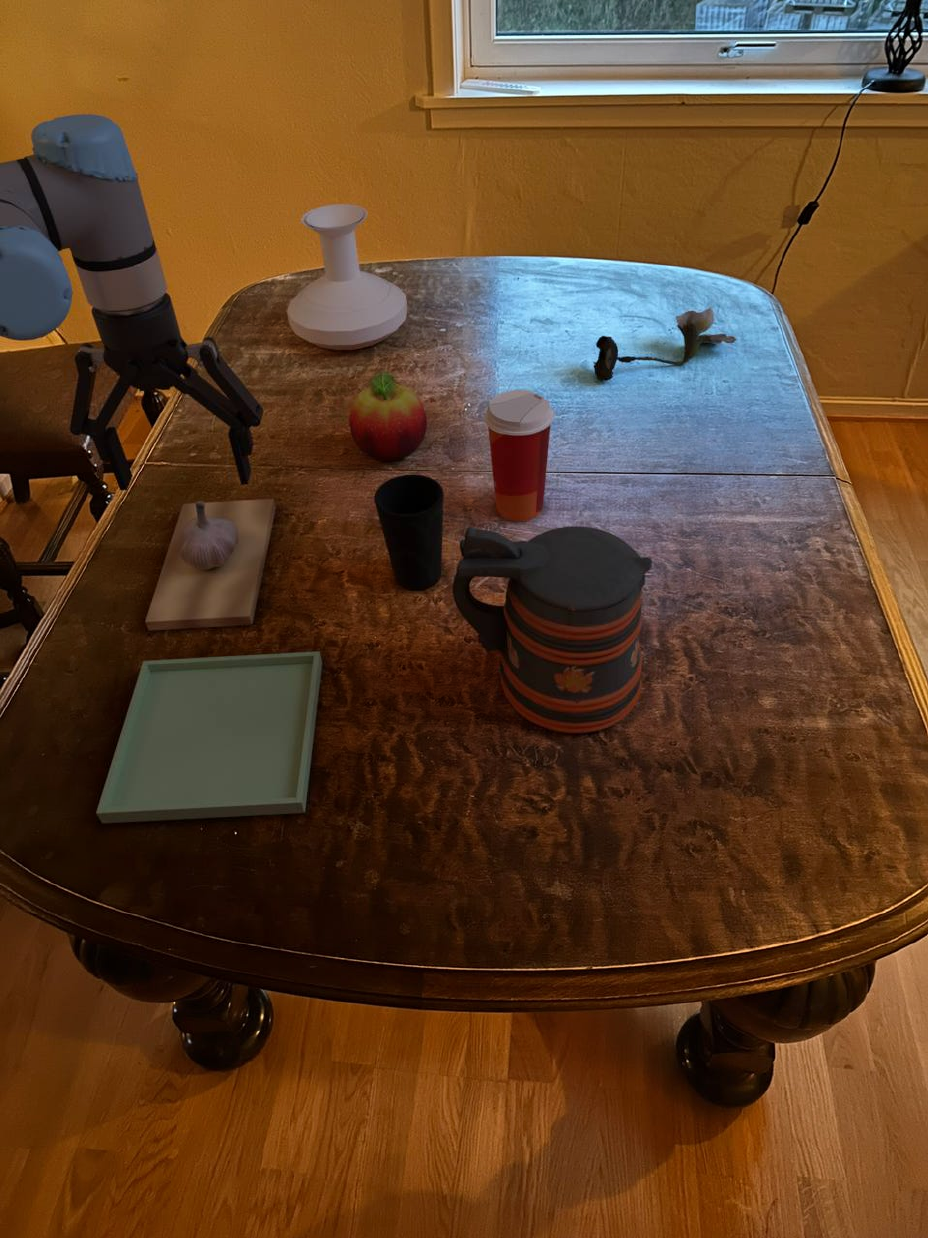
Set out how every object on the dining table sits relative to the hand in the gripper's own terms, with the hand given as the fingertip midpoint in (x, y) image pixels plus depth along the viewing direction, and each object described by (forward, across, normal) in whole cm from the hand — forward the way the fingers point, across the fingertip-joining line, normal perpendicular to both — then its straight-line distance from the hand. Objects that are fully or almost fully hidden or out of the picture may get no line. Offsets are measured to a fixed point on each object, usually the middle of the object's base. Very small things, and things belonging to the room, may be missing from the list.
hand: (186, 480), depth 100 cm
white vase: (+12, -13, -59) cm, 62 cm away
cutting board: (+13, 0, 0) cm, 13 cm away
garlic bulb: (+12, 0, 0) cm, 12 cm away
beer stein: (+13, -39, +22) cm, 47 cm away
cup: (+13, -25, +4) cm, 29 cm away
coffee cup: (+12, -38, -8) cm, 41 cm away
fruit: (+13, -21, -23) cm, 34 cm away
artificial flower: (+12, -63, -43) cm, 78 cm away
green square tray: (+13, -5, +27) cm, 30 cm away
